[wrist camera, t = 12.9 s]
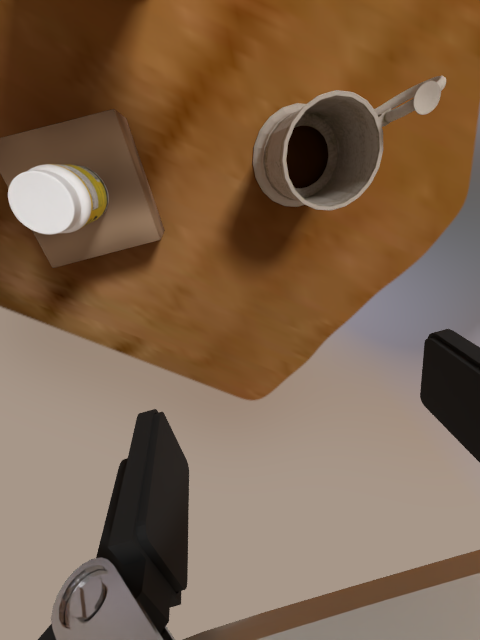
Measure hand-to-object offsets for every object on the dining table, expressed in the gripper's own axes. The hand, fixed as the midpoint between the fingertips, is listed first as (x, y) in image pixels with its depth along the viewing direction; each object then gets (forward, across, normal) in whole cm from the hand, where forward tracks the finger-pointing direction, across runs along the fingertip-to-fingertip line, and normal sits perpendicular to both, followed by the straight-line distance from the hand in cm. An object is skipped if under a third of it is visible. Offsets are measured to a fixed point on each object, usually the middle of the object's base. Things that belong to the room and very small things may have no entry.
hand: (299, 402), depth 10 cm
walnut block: (+28, +12, -8) cm, 32 cm away
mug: (+29, -12, -7) cm, 32 cm away
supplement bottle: (+24, +12, -8) cm, 28 cm away
